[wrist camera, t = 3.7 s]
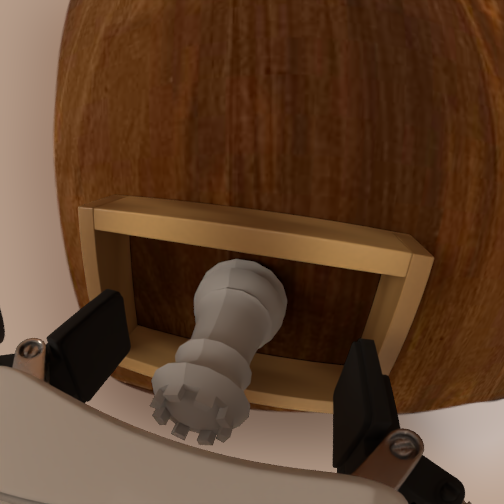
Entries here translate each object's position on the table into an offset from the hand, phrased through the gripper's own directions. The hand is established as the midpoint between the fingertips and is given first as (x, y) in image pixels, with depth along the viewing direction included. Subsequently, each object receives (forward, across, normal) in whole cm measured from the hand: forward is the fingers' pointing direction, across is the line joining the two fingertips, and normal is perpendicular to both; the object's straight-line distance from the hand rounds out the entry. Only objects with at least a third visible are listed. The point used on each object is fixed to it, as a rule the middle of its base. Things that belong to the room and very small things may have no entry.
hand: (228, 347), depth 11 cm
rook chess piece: (+4, 0, 0) cm, 4 cm away
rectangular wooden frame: (+4, 0, 0) cm, 4 cm away
